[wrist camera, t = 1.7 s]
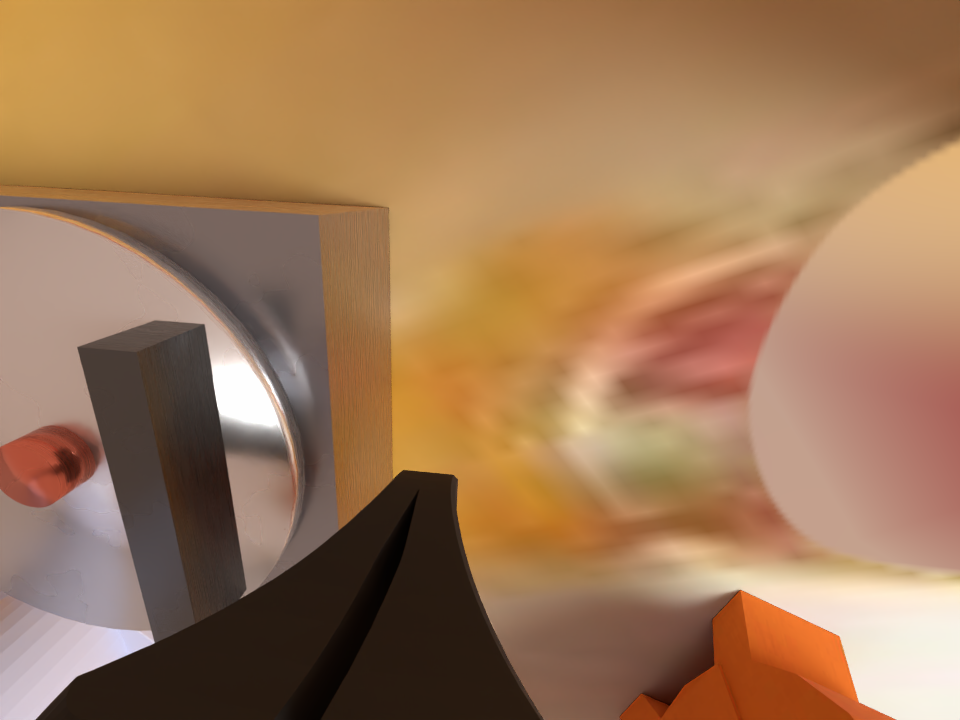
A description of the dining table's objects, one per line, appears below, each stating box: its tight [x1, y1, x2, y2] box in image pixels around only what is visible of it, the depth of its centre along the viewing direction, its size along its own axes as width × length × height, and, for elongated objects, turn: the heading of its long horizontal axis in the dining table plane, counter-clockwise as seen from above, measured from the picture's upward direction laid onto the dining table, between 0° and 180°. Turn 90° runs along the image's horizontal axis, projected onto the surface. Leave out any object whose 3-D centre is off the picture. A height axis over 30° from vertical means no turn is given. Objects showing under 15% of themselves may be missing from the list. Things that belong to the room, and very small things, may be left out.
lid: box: [0, 207, 305, 643], centre depth 12 cm, size 13×13×3 cm
